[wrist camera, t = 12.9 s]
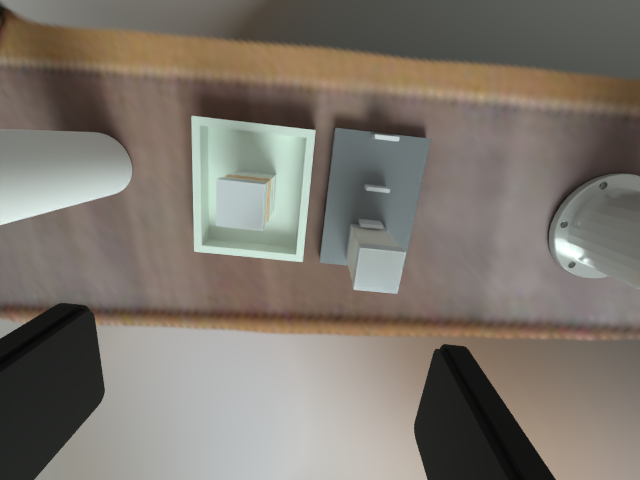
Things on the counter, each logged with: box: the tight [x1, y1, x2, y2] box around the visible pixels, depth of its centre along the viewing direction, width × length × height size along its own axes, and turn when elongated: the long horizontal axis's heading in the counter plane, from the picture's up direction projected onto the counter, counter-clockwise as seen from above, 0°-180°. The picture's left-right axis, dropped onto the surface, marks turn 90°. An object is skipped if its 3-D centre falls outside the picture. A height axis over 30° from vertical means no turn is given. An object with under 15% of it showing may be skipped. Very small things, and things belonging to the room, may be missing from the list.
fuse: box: [346, 224, 406, 294], centre depth 31 cm, size 4×4×8 cm
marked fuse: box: [216, 170, 277, 230], centre depth 30 cm, size 4×4×8 cm
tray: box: [191, 116, 316, 262], centre depth 33 cm, size 12×14×3 cm
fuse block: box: [320, 128, 431, 271], centre depth 34 cm, size 10×15×4 cm, turn 174°
